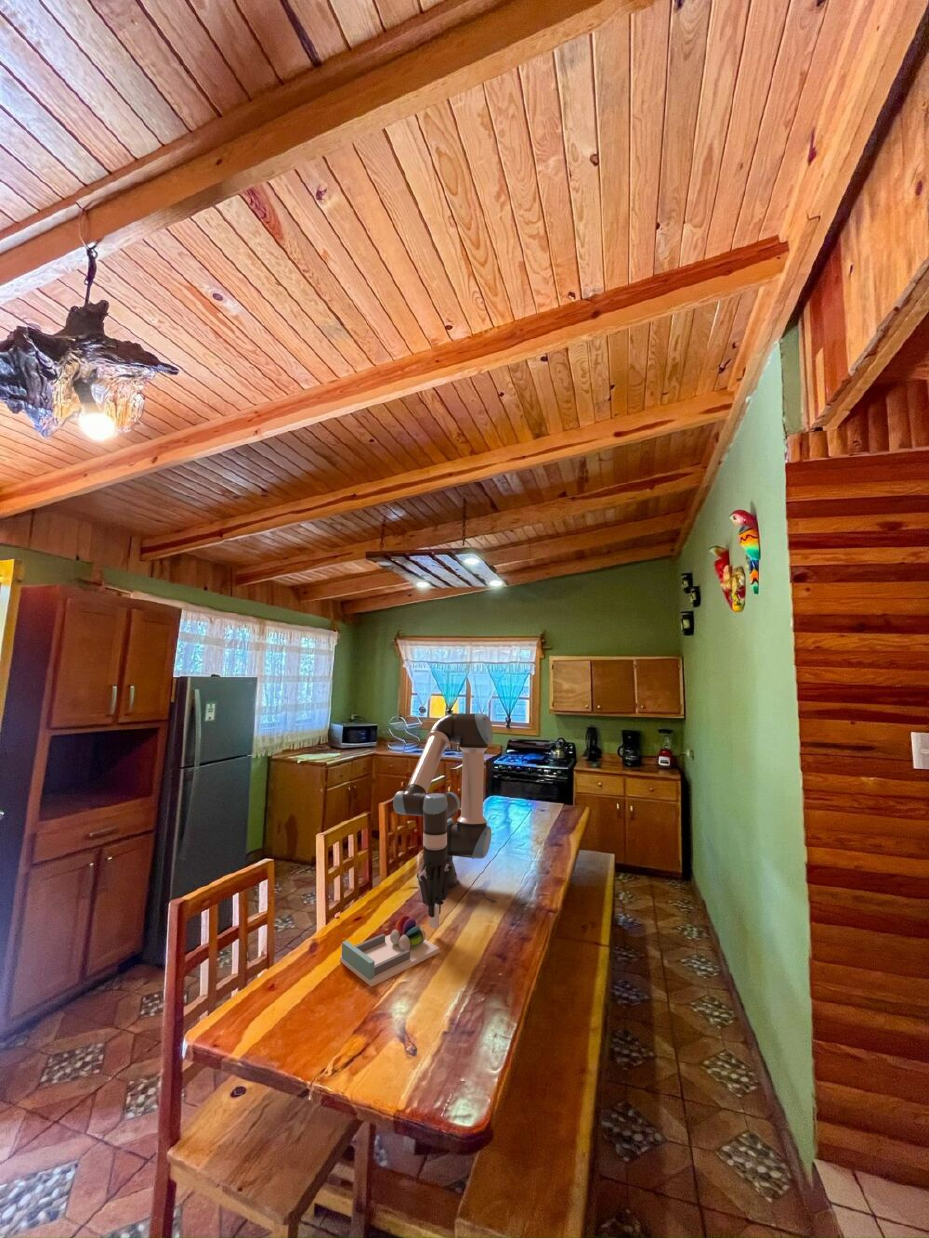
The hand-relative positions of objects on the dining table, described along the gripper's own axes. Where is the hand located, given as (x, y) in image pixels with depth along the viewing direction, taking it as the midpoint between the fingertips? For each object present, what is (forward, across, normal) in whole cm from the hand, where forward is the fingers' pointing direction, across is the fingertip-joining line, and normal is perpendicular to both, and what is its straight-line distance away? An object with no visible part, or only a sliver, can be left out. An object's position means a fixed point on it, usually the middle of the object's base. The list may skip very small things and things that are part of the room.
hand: (434, 926), depth 149 cm
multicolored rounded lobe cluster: (+2, +10, 0) cm, 10 cm away
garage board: (+3, +16, 0) cm, 17 cm away
